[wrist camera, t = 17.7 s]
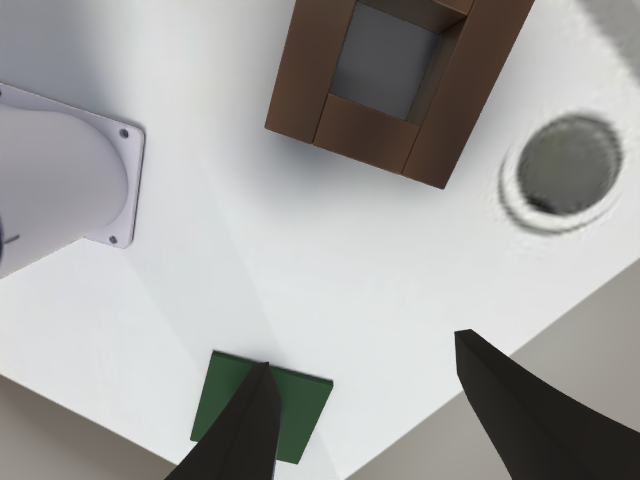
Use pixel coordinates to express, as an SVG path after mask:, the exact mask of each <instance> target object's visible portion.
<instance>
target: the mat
mask: <svg viewBox="0 0 640 480" xmlns="http://www.w3.org/2000/svg"><path fill="white" fill-rule="evenodd" d="M253 364H257V363H256V362H252V361H248V360H244V359H240V358H236V357H233V356H229V355H225V354H221V353H217V352H213V353H212V356H211V360H210V364H209V368H208V372H207V376H206V379H205V383H204V387H203V391H202V395H201V399H200V403H199V407H198V410H197V414H196V418H195V422H194V426H193V430H192V434H191V437H190V440H191V441H196V442H199V441H200V439H201V438H202V437H203V436H204V434H205V433H206V432H207V431H208V429H209V428H210V427H211V425H212V424H213V423H214V421H215V420H216V419H217V417H218V416H219V415H220V413H221V412H222V410H223V409H224V408H225V406H226V405H227V403H228V402H229V400H230V399H231V397H232V396H233V394H234V393H235V391H236V390H237V388H238V387H239V385H240V384H241V382H242V381H243V379H244V378H245V376H246V375H247V373H248V372H249V370H250V369H251V367H252V366H253ZM270 367H271V366H270ZM271 370H272V373H273V376H274V379H275V382H276V385H277V388H278V391H279V394H280V397H281V414H282V419H281V427H280V434H279V442H278V449H277V457H276V460H280V461H284V462H289V463H293V464H298V463H299V461H300V458H301V456H302V454H303V452H304V450H305V447H306V445H307V443H308V441H309V439H310V436H311V434H312V432H313V430H314V428H315V425H316V423H317V421H318V419H319V417H320V414H321V412H322V410H323V408H324V406H325V403H326V401H327V399H328V397H329V395H330V393H331V390H332V388H333V382H329V381H325V380H321V379H318V378H314V377H310V376H306V375H302V374H298V373H294V372H290V371H287V370H283V369H279V368H275V367H271Z"/></svg>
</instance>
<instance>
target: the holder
mask: <svg viewBox="0 0 640 480" xmlns="http://www.w3.org/2000/svg"><path fill="white" fill-rule="evenodd" d="M357 1H358V2H361V3H363V4H365V5H368V6H370V7H373V8H375V9H378V10H380V11H383V12H385V13H388V14H390V15H393V16H395V17H398V18H400V19H403V20H405V21H408V22H410V23H413V24H415V25H417V26H420V27H422V28H425V29H427V30H430V31H432V32H435V33H437V34H441V35H440V37H439V40H438V42H437V45H436V47H435V50H434V52H433V55H432V57H431V60H430V62H429V65H428V67H427V70H426V72H425V75H424V77H423V79H422V82H421V84H420V87H419V89H418V92H417V94H416V97H415V99H414V102H413V104H412V107H411V109H410V112H409V114H408V117H407V119H406V121H404V120H401V119H398V118H396V117H393V116H390V115H388V114H385V113H382V112H379V111H377V110H374V109H371V108H368V107H366V106H363V105H360V104H357V103H355V102H352V101H349V100H347V99H344V98H341V97H338V96H336V95H333V94H330V93H328V92H329V89H330V86H331V83H332V79H333V76H334V73H335V70H336V66H337V63H338V60H339V57H340V54H341V50H342V47H343V44H344V41H345V37H346V34H347V31H348V28H349V25H350V21H351V18H352V15H353V12H354V8H355V5H356V2H357ZM534 1H535V0H296V3H295V7H294V11H293V15H292V19H291V23H290V27H289V31H288V35H287V39H286V43H285V47H284V51H283V55H282V58H281V62H280V66H279V70H278V74H277V78H276V82H275V86H274V90H273V94H272V98H271V102H270V106H269V110H268V114H267V118H266V122H265V126H264V127H265V129H268V130H271V131H273V132H276V133H279V134H282V135H285V136H288V137H291V138H294V139H297V140H300V141H303V142H305V143H308V144H312V143H313V145H314V146H317V147H320V148H323V149H326V150H329V151H331V152H334V153H337V154H340V155H343V156H346V157H349V158H352V159H355V160H358V161H360V162H363V163H366V164H369V165H372V166H375V167H378V168H381V169H384V170H387V171H389V172H392V173H395V174H398V175H402V176H404V177H407V178H410V179H413V180H416V181H419V182H422V183H424V184H427V185H430V186H433V187H436V188H439V189H444V188H445V186H446V184H447V182H448V180H449V178H450V176H451V174H452V172H453V170H454V168H455V165H456V163H457V161H458V159H459V157H460V155H461V153H462V151H463V149H464V147H465V145H466V143H467V140H468V138H469V136H470V134H471V132H472V130H473V128H474V126H475V124H476V122H477V120H478V118H479V115H480V113H481V111H482V109H483V107H484V105H485V103H486V101H487V99H488V97H489V95H490V93H491V90H492V88H493V86H494V84H495V82H496V80H497V78H498V76H499V74H500V72H501V70H502V68H503V65H504V63H505V61H506V59H507V57H508V55H509V53H510V51H511V49H512V47H513V45H514V43H515V41H516V38H517V36H518V34H519V32H520V30H521V28H522V26H523V24H524V22H525V20H526V18H527V16H528V13H529V11H530V9H531V7H532V5H533V3H534Z"/></svg>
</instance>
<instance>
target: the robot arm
mask: <svg viewBox="0 0 640 480" xmlns="http://www.w3.org/2000/svg"><path fill="white" fill-rule="evenodd" d="M0 91H1V96H0V279H1V278H3V277H5V276H7V275H9V274H11V273H13V272H15V271H17V270H19V269H21V268H23V267H25V266H27V265H29V264H31V263H33V262H35V261H37V260H39V259H41V258H43V257H45V256H47V255H49V254H51V253H53V252H55V251H57V250H59V249H61V248H63V247H65V246H66V245H68V244H70V243H72V242H74V241H76V240H78V239H80V238H82V237H83V238H86V239H90V240H93V241H97V242H100V243H104V244H107V245H111V246H114V247H118V248H121V249H125V248H127V247H129V246H130V245H131V243H132V236H133V227H134V219H135V211H136V203H137V195H138V187H139V179H140V170H141V162H142V154H143V146H144V134H143V132H142V131H141V130H140V129H138V128H136V127H133V126H130V125H127V124H124V123H121V122H118V121H115V120H112V119H109V118H106V117H103V116H100V115H97V114H94V113H91V112H88V111H85V110H82V109H79V108H76V107H73V106H70V105H67V104H63V103H60V102H57V101H54V100H51V99H48V98H45V97H42V96H39V95H36V94H33V93H30V92H27V91H24V90H21V89H18V88H15V87H12V86H9V85H6V84H3V83H0ZM124 129H125V130H127V132H128V137H125V136H124V134H123V131H124ZM113 236H114V237H116V238H117V241H115V240H114V239H113ZM454 334H455V350H456V366H457V375H458V377H459V380H460V382H461V384H462V387H463V389H464V391H465V394H466V396H467V398H468V400H469V402H470V404H471V406H472V408H473V409H474V411H475V413H476V415H477V417H478V418H479V420H480V422H481V424H482V425H483V427H484V429H485V431H486V432H487V434H488V436H489V438H490V439H491V441H492V443H493V445H494V447H495V448H496V450H497V452H498V453H499V455H500V457H501V458H502V460H503V462H504V464H505V466H506V468H507V470H508V472H509V474H510V476H511V478H512V480H640V433H639V432H637V431H635V430H633V429H631V428H628V427H626V426H624V425H622V424H620V423H618V422H616V421H614V420H612V419H610V418H608V417H606V416H604V415H602V414H600V413H598V412H596V411H594V410H592V409H590V408H588V407H587V406H585V405H583V404H581V403H580V402H578V401H576V400H574V399H572V398H571V397H569V396H567V395H565V394H564V393H562V392H560V391H559V390H557V389H555V388H553V387H552V386H550V385H549V384H547V383H546V382H544V381H542V380H541V379H539V378H538V377H536V376H535V375H533V374H532V373H530V372H529V371H527V370H526V369H524V368H523V367H521V366H520V365H519V364H517V363H516V362H515V361H513V360H511V359H510V358H509V357H508V356H506V355H505V354H503V353H502V352H501V351H499V350H498V349H497V348H495V347H494V346H493V345H491V344H490V343H489V342H488V341H486V340H485V339H484V338H482V337H481V336H480V335H478V334H477V333H476V332H474V331H473V330H472V329H468V330H462V331H455V332H454ZM280 421H281V397H280V394H279V391H278V388H277V385H276V382H275V379H274V376H273V373H272V370H271V367H270V364H269V362H264V363H257V364H253V366H252V367H251V369H250V370H249V372H248V373H247V375H246V376H245V378H244V379H243V381H242V382H241V384H240V385H239V387H238V388H237V390H236V391H235V393H234V394H233V396H232V397H231V399H230V400H229V402H228V403H227V405H226V406H225V408H224V409H223V410H222V412H221V413H220V415H219V416H218V417H217V419H216V420H215V421H214V423H213V424H212V425H211V427H210V428H209V429H208V431H207V432H206V433H205V434H204V436H203V437H202V438H201V439H200V441H199V442H198V443H197V444H196V446H195V447H194V448H193V449H192V450H191V451H190V452H189V454H188V455H187V456H186V457H185V458H184V459H183V460H182V462H181V463H180V464H179V465H178V466H177V467H176V468H175V469H174V470H173V471H172V472H171V473H170V474H169V475H168V476H167V477H166V478H165V479H164V480H272V474H273V468H274V462H275V456H276V450H277V444H278V438H279V431H280Z"/></svg>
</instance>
